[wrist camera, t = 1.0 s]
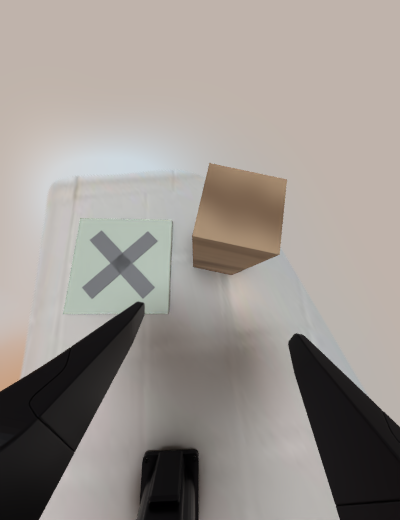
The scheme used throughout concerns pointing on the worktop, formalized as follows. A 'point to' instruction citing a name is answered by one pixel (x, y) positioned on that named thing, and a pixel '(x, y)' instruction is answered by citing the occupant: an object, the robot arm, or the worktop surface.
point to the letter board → (120, 266)
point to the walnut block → (238, 220)
